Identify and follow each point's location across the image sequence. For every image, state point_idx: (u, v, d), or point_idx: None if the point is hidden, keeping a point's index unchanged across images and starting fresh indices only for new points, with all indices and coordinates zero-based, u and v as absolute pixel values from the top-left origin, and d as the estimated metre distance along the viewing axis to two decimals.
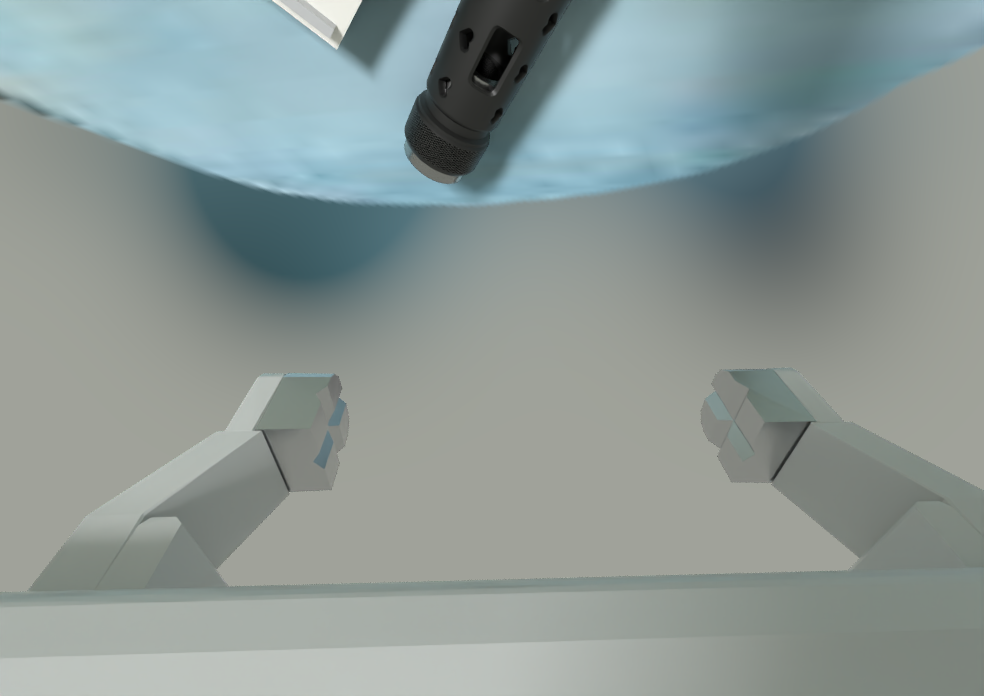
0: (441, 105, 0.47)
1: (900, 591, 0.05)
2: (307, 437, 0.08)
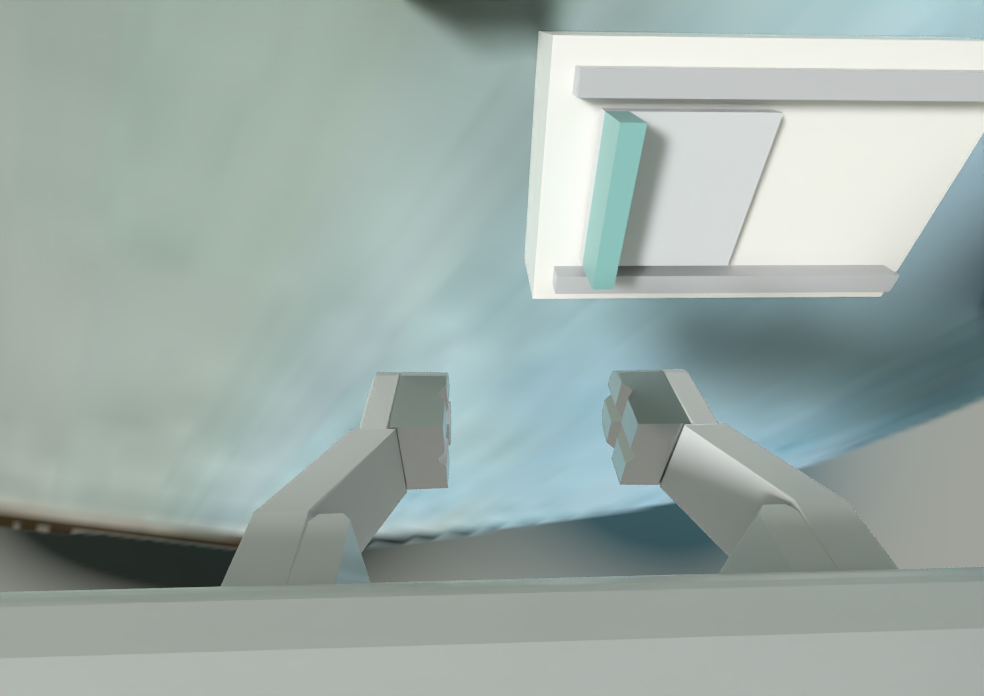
0: None
1: (900, 591, 0.05)
2: (436, 435, 0.08)
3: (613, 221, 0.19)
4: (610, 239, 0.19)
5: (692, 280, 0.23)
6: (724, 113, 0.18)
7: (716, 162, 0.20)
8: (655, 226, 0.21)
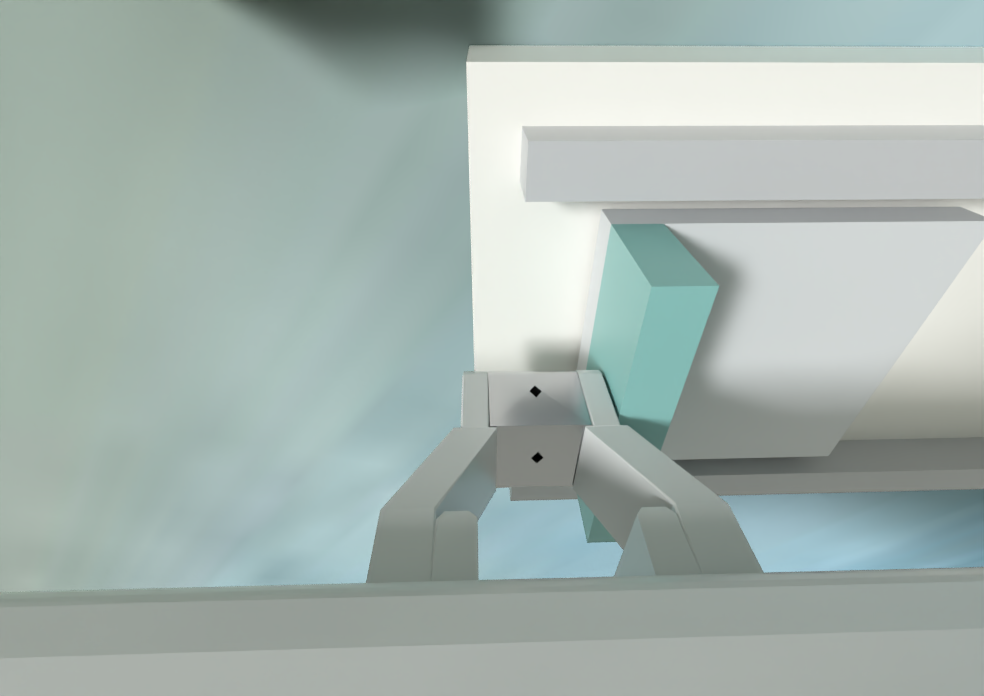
0: None
1: (900, 592, 0.05)
2: (535, 434, 0.08)
3: None
4: None
5: (750, 478, 0.13)
6: (869, 224, 0.09)
7: (836, 310, 0.10)
8: (705, 407, 0.11)
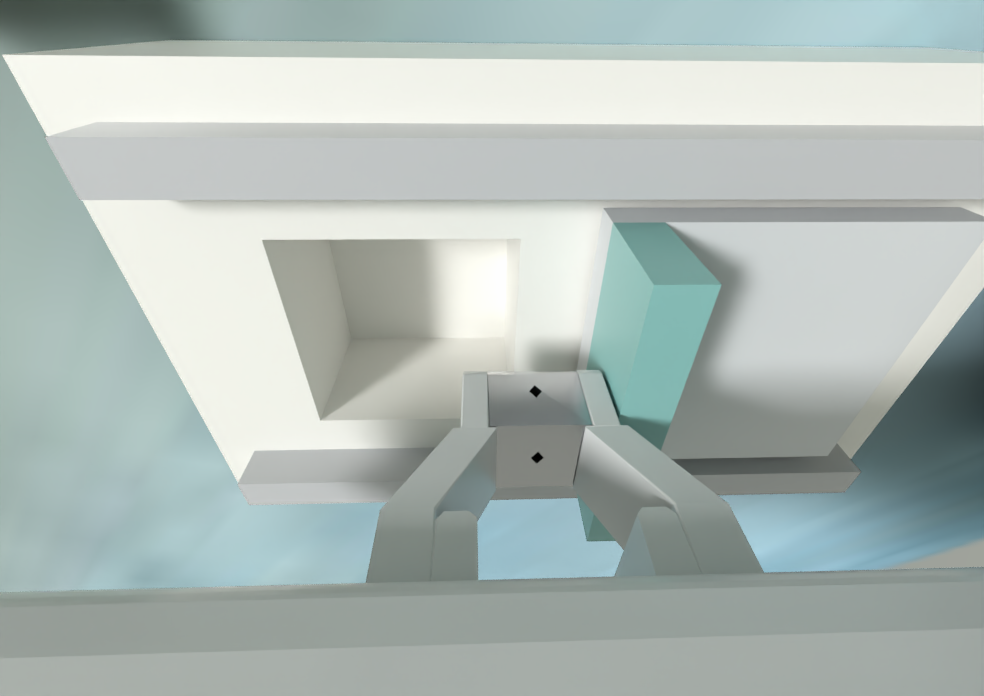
0: None
1: (900, 592, 0.05)
2: (534, 434, 0.08)
3: None
4: None
5: None
6: (870, 224, 0.09)
7: (836, 309, 0.10)
8: (705, 406, 0.11)
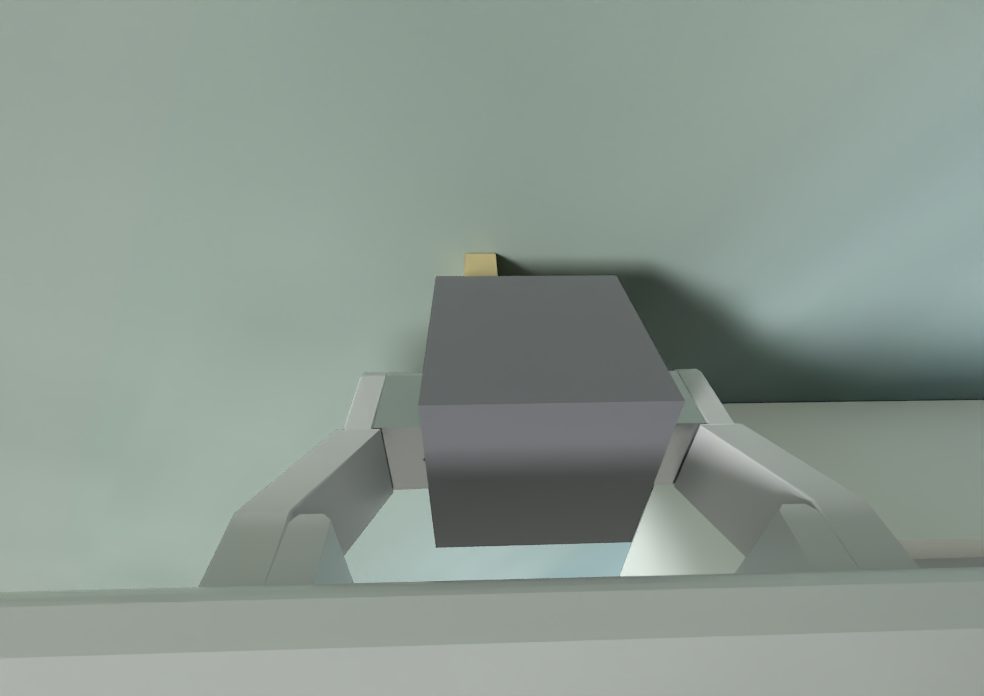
0: None
1: (900, 592, 0.05)
2: (421, 435, 0.08)
3: None
4: None
5: None
6: None
7: None
8: None
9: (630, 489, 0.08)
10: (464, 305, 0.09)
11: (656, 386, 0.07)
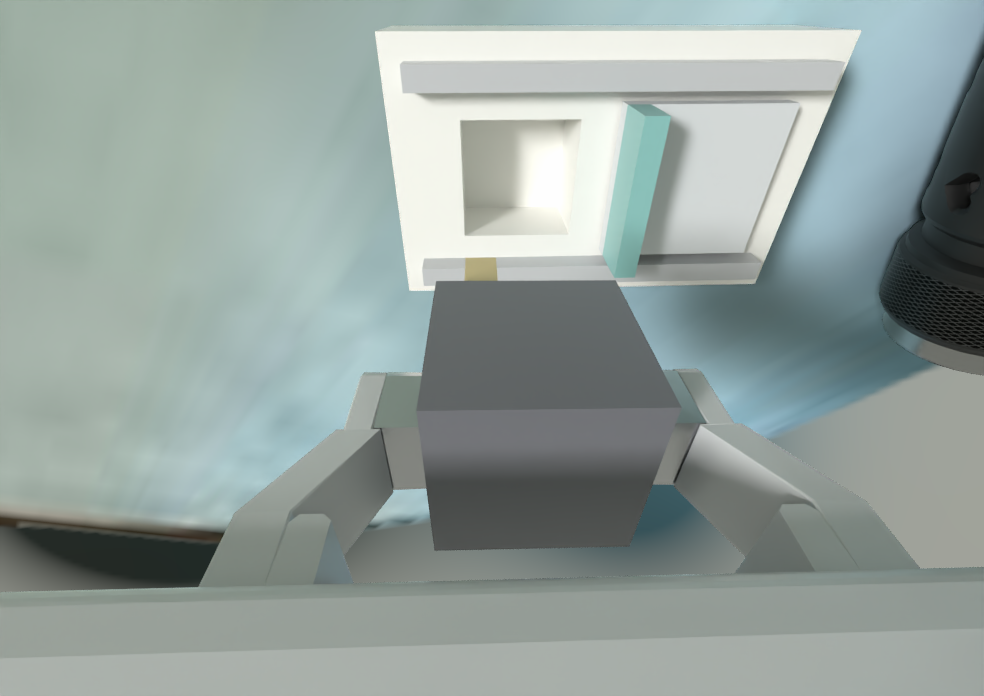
0: None
1: (900, 592, 0.05)
2: None
3: (636, 211, 0.19)
4: (633, 229, 0.20)
5: (557, 270, 0.23)
6: (743, 104, 0.19)
7: (734, 152, 0.20)
8: (674, 215, 0.22)
9: (628, 494, 0.08)
10: (463, 310, 0.09)
11: (652, 392, 0.07)
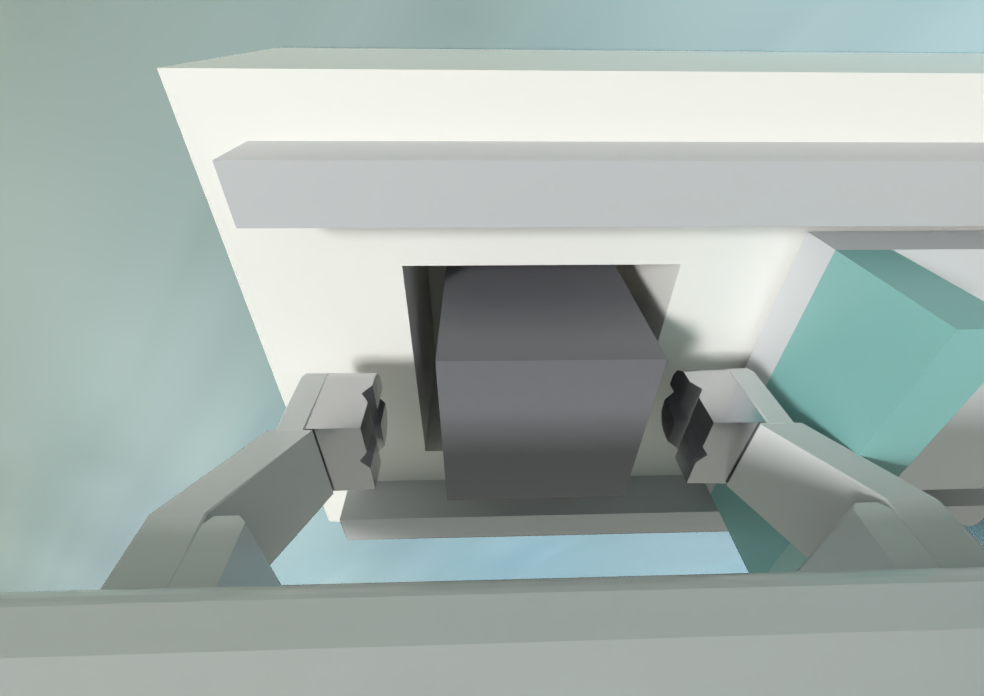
0: None
1: (900, 592, 0.05)
2: (356, 436, 0.08)
3: None
4: None
5: (604, 517, 0.12)
6: None
7: None
8: None
9: (621, 444, 0.09)
10: (473, 282, 0.10)
11: (643, 347, 0.08)
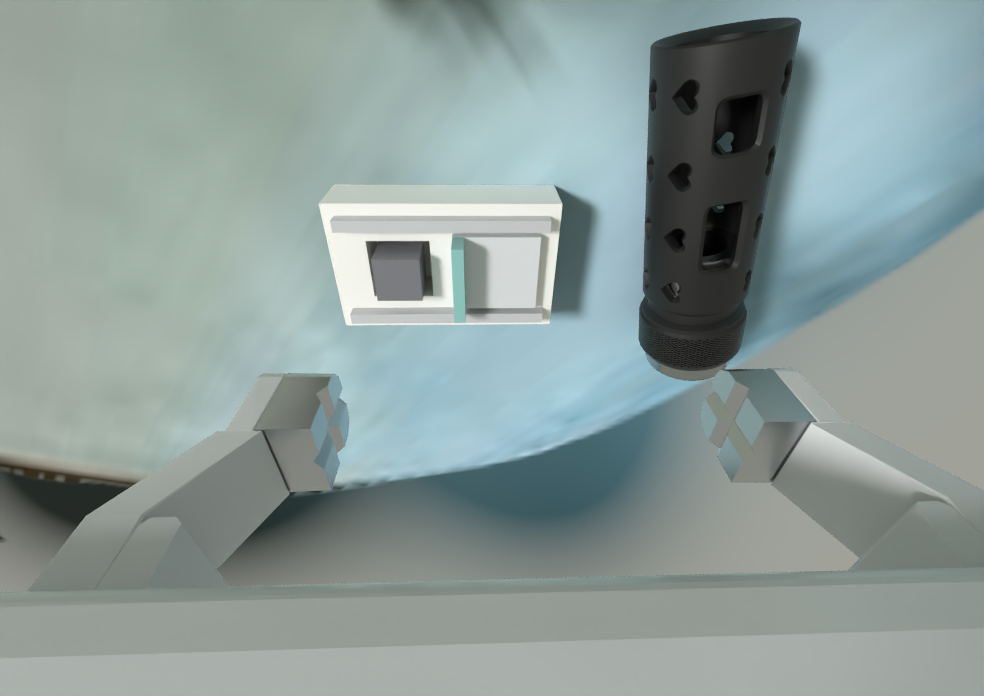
0: (678, 310, 0.39)
1: (900, 592, 0.05)
2: (307, 437, 0.08)
3: (457, 290, 0.37)
4: (458, 299, 0.38)
5: (426, 316, 0.42)
6: (511, 238, 0.37)
7: (514, 259, 0.38)
8: (490, 288, 0.40)
9: (416, 282, 0.38)
10: (384, 245, 0.39)
11: (415, 258, 0.37)
